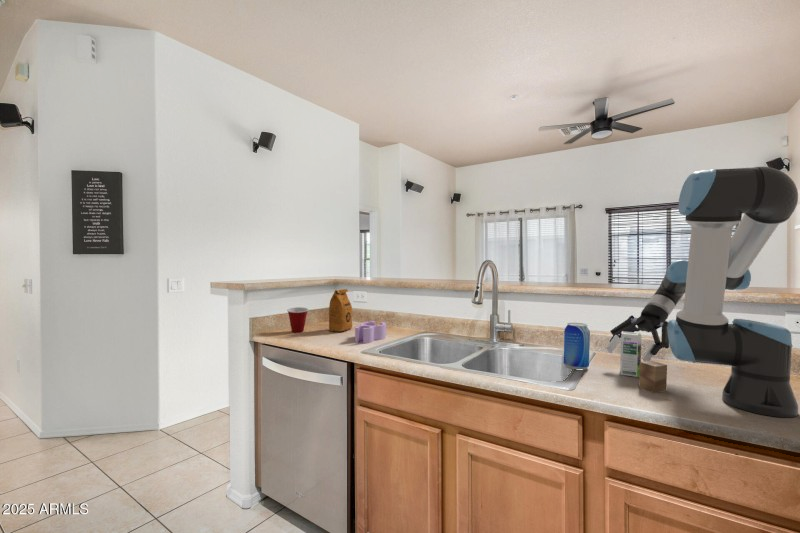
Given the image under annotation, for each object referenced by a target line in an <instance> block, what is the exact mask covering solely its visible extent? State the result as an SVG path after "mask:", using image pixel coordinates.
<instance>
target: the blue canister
mask: <svg viewBox="0 0 800 533" xmlns="http://www.w3.org/2000/svg"><path fill="white" fill-rule="evenodd" d="M590 334H591V331H590V329H589V327H588V324H586V323H583V322H582V323H580V322H567V324H566V326H565V327H564V335H563V336H564V339H563V364H564V365H565V368H567V369H570V370H574V369H583V370H582V371H586V370H587V369H588V368H589V367H590V342H591V339H590V338H591V336H590Z"/></svg>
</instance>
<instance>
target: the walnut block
mask: <svg viewBox="0 0 800 533" xmlns="http://www.w3.org/2000/svg"><path fill="white" fill-rule="evenodd" d="M667 377H668V364H664V363H661V362H656V361H654V360H650V361H645V362H644V361H641V362H640V374H639V377H638V378H639V379H638V381H639V382H638V383H639V384H638V388H640V389H642V390H645V391H649V392H651V393H654V394H655V393H663V392H667V384H668V383H667V381H668V378H667Z"/></svg>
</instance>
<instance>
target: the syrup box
mask: <svg viewBox="0 0 800 533" xmlns="http://www.w3.org/2000/svg"><path fill="white" fill-rule="evenodd" d="M620 339H621V341H620V364H619V365H620V375H621V376H628V377H635V378H639V374H640V362H642V335H641V333H640V332H623V331H622V332H621V338H620Z"/></svg>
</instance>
